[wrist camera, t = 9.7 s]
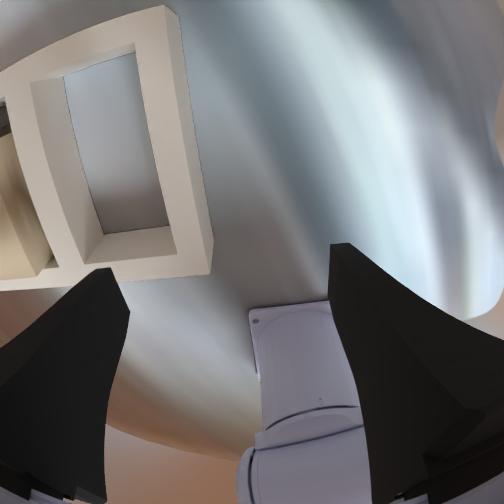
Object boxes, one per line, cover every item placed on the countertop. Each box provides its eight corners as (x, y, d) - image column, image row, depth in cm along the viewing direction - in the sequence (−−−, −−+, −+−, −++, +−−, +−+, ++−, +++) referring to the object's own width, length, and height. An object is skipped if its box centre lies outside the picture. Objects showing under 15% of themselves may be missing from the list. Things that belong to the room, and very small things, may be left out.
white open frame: (214, 241, 20) (210, 274, 17) (20, 264, 20) (0, 290, 17) (179, 17, 12) (163, 4, 9) (-32, 107, 13) (-63, 119, 10)
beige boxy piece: (69, 234, 19) (36, 277, 15) (32, 241, 19) (-1, 280, 15) (33, 115, 14) (-16, 135, 10) (-4, 133, 15) (-51, 157, 10)
